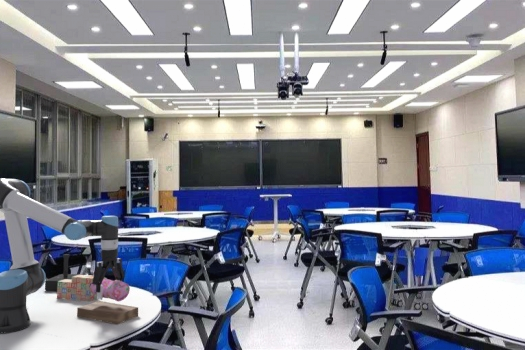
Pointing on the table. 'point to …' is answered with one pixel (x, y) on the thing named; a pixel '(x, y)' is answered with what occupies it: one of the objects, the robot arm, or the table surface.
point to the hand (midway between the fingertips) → (108, 296)
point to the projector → (59, 276)
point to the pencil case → (112, 289)
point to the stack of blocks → (76, 288)
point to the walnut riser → (107, 312)
